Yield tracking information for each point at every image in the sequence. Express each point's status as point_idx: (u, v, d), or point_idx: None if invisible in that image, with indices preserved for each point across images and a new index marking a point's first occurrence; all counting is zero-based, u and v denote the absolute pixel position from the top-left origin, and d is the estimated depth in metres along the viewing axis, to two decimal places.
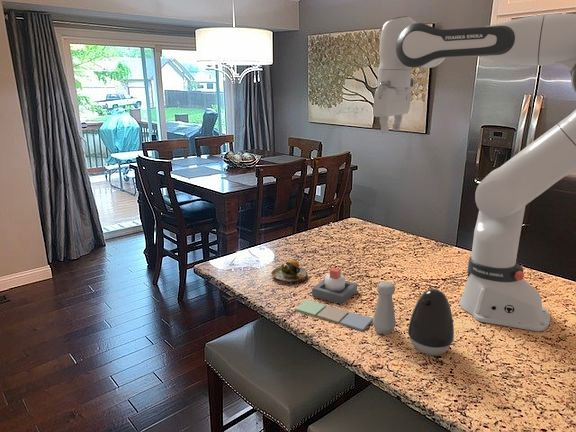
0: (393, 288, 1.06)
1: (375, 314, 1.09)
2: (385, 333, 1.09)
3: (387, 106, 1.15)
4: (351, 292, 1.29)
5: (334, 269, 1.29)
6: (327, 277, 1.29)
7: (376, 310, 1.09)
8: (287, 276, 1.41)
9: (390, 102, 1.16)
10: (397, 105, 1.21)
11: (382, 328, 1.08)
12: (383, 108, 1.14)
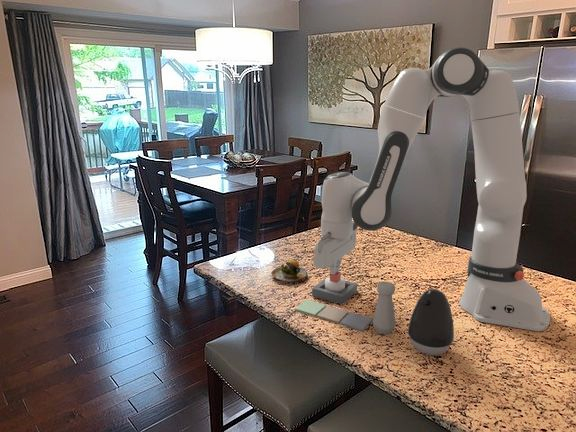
0: (393, 288, 1.06)
1: (375, 314, 1.09)
2: (385, 333, 1.09)
3: (327, 259, 1.19)
4: (351, 292, 1.29)
5: None
6: (327, 280, 1.30)
7: (376, 310, 1.09)
8: (287, 276, 1.41)
9: (330, 254, 1.21)
10: (339, 251, 1.26)
11: (382, 328, 1.08)
12: (323, 262, 1.19)
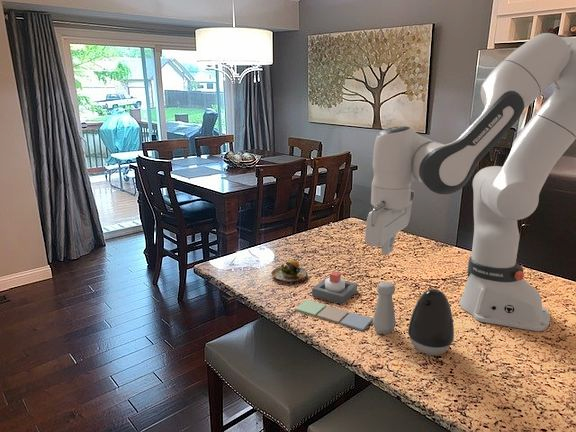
0: (393, 288, 1.06)
1: (375, 314, 1.09)
2: (385, 333, 1.09)
3: (382, 234, 0.96)
4: (351, 292, 1.29)
5: (334, 273, 1.29)
6: (327, 281, 1.30)
7: (376, 310, 1.09)
8: (287, 276, 1.41)
9: (386, 228, 0.97)
10: (394, 225, 1.02)
11: (382, 328, 1.08)
12: (377, 237, 0.95)
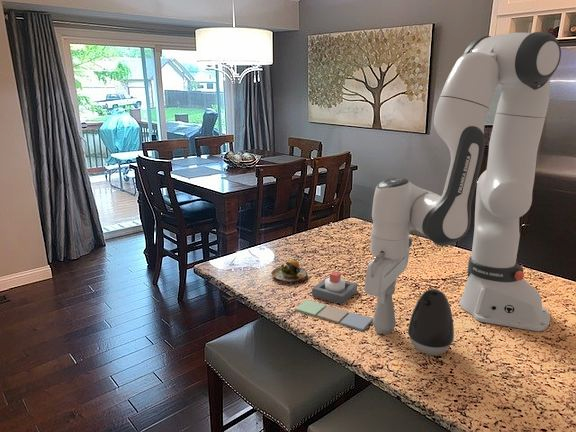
0: (393, 288, 1.06)
1: (375, 314, 1.09)
2: (385, 333, 1.09)
3: (381, 285, 0.98)
4: (351, 292, 1.29)
5: (334, 273, 1.29)
6: (327, 281, 1.30)
7: (376, 310, 1.09)
8: (287, 276, 1.41)
9: (385, 278, 1.00)
10: (393, 273, 1.05)
11: (381, 327, 1.08)
12: (377, 288, 0.98)
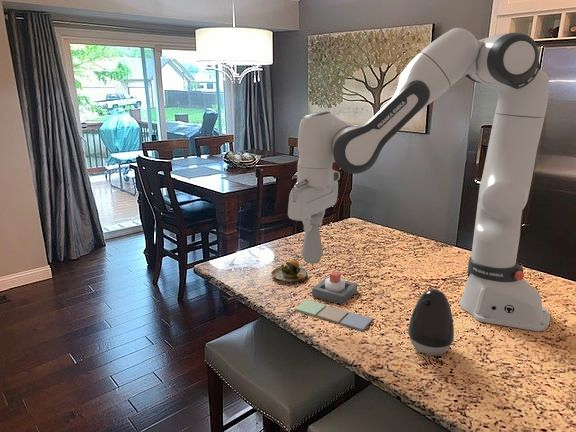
0: (319, 218, 1.13)
1: (303, 244, 1.16)
2: (312, 262, 1.15)
3: (303, 209, 1.05)
4: (351, 292, 1.29)
5: (334, 273, 1.29)
6: (327, 281, 1.30)
7: (304, 240, 1.15)
8: (287, 276, 1.41)
9: (307, 204, 1.06)
10: (318, 202, 1.11)
11: (308, 256, 1.14)
12: (298, 212, 1.04)
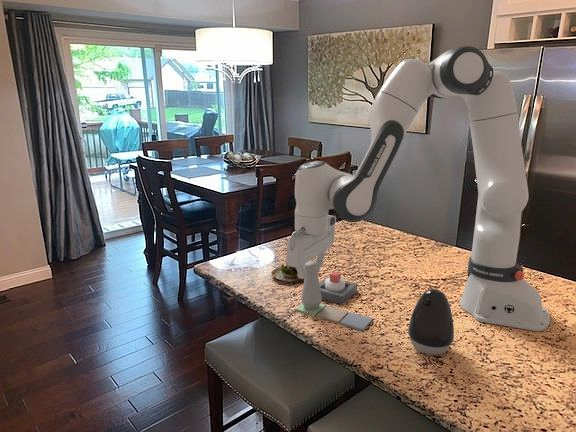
0: (317, 266, 1.18)
1: (303, 291, 1.20)
2: (311, 308, 1.20)
3: (300, 257, 1.09)
4: (351, 292, 1.29)
5: (334, 273, 1.29)
6: (327, 281, 1.30)
7: (303, 287, 1.20)
8: (287, 276, 1.41)
9: (304, 251, 1.10)
10: (315, 248, 1.15)
11: (307, 303, 1.19)
12: (295, 260, 1.08)
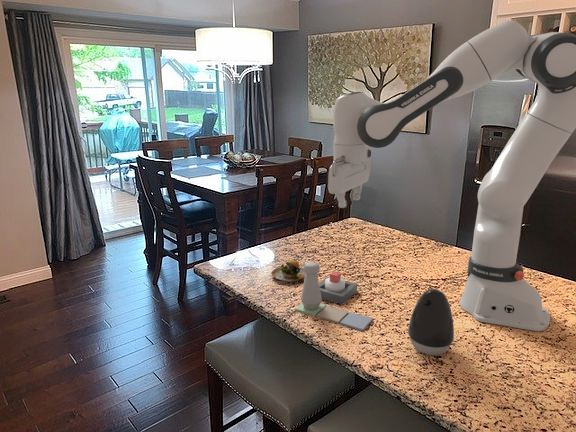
0: (317, 267, 1.17)
1: (302, 291, 1.20)
2: (311, 308, 1.20)
3: (342, 183, 1.12)
4: (351, 292, 1.29)
5: (334, 273, 1.29)
6: (327, 281, 1.30)
7: (303, 288, 1.20)
8: (287, 276, 1.41)
9: (345, 178, 1.14)
10: (354, 178, 1.18)
11: (307, 303, 1.19)
12: (338, 186, 1.11)
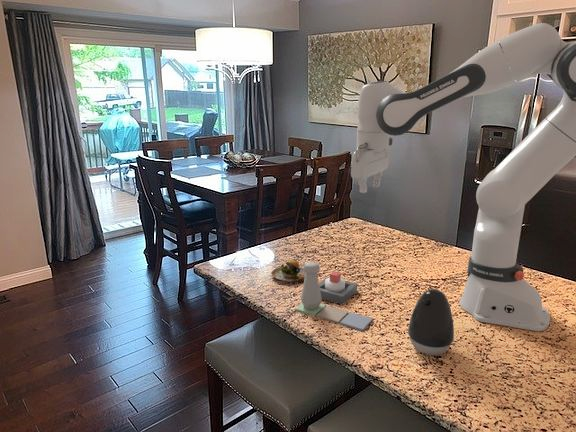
0: (317, 267, 1.17)
1: (302, 291, 1.20)
2: (311, 308, 1.20)
3: (365, 169, 1.17)
4: (351, 292, 1.29)
5: (334, 273, 1.29)
6: (327, 281, 1.30)
7: (303, 288, 1.20)
8: (287, 276, 1.41)
9: (368, 164, 1.18)
10: (376, 165, 1.23)
11: (307, 303, 1.19)
12: (361, 171, 1.16)
